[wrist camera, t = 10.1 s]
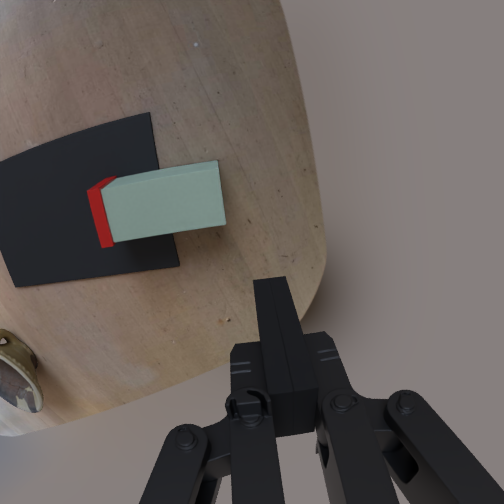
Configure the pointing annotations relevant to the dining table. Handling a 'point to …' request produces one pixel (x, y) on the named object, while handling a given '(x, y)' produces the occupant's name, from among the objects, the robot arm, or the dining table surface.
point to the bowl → (19, 375)
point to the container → (157, 202)
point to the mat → (75, 206)
